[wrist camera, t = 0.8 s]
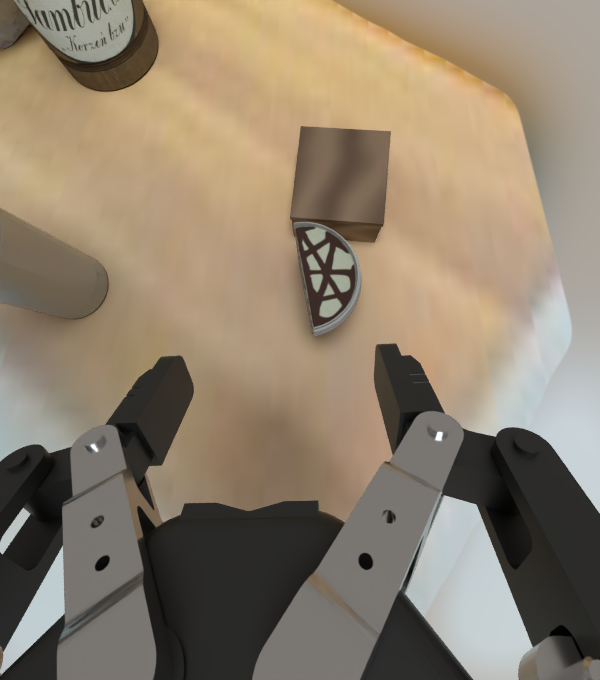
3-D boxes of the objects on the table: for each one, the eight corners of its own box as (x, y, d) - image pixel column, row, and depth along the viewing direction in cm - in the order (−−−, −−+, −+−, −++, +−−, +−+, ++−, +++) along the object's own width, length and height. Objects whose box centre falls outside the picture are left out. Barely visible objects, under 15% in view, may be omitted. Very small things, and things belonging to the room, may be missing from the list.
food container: (360, 336, 39) (376, 322, 29) (314, 345, 39) (314, 333, 29) (342, 248, 41) (351, 206, 31) (297, 256, 41) (292, 218, 31)
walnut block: (293, 236, 41) (290, 217, 36) (302, 155, 43) (300, 126, 38) (375, 243, 40) (383, 224, 35) (381, 160, 42) (390, 131, 37)
